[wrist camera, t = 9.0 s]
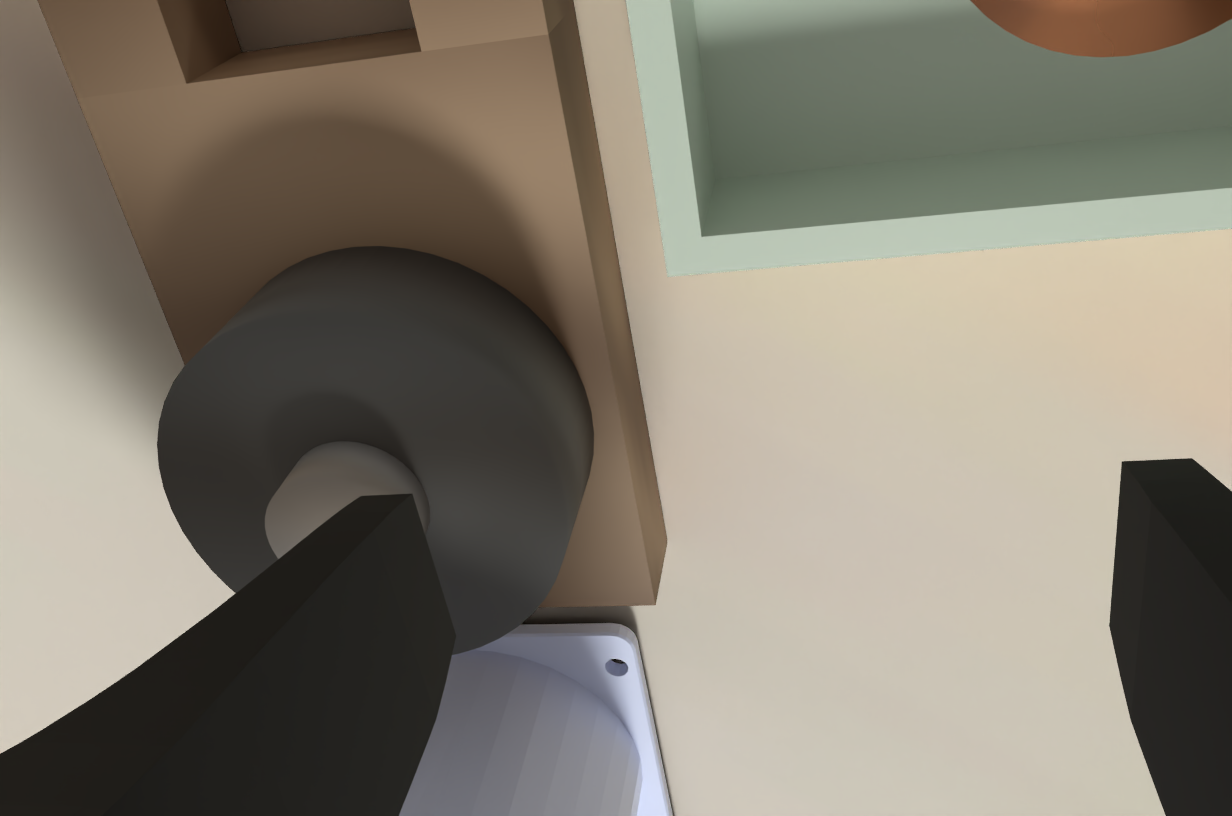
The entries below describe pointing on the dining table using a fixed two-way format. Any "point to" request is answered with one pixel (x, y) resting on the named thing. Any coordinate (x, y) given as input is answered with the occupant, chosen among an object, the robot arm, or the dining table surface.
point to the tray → (915, 133)
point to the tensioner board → (380, 177)
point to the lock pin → (1106, 23)
